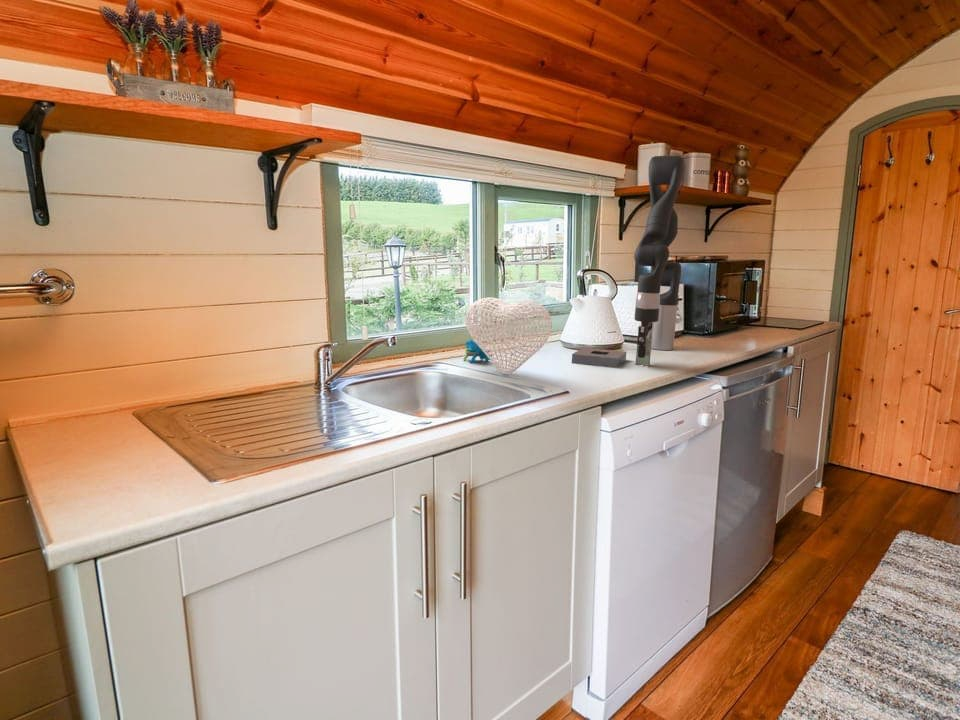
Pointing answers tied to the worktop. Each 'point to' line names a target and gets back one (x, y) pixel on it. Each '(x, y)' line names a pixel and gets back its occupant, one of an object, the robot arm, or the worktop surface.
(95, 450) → the worktop surface
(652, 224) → the robot arm
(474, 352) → the blue irregular piece
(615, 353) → the hole block
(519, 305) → the heart
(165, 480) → the worktop surface
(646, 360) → the peg
